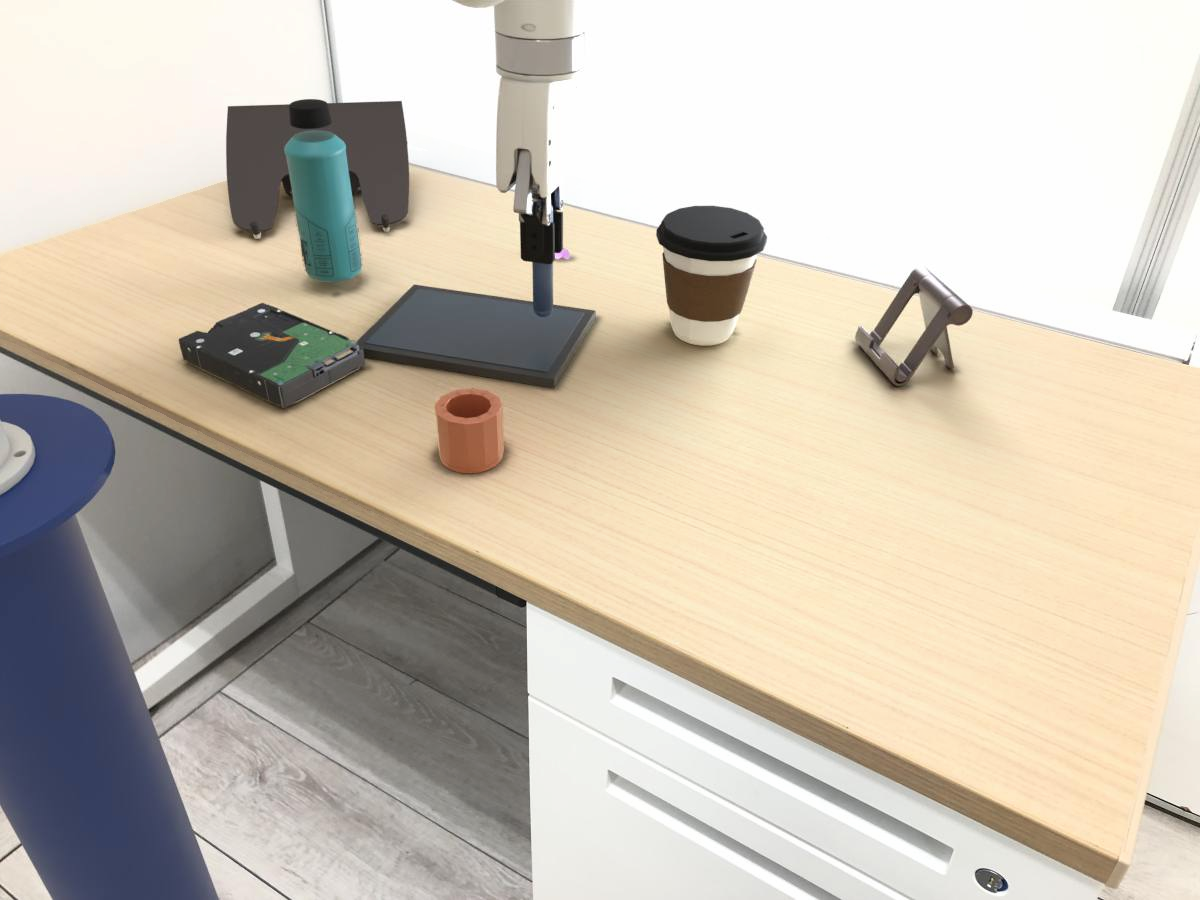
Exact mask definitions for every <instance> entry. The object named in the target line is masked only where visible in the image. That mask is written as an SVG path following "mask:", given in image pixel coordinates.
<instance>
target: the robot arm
mask: <svg viewBox="0 0 1200 900" xmlns="http://www.w3.org/2000/svg"><path fill="white" fill-rule="evenodd" d="M452 1H453V2H455V3H457V4H459V5H461V6H465V7H468V8H474V9H486V8H490V7H493V14H494V15H493V17H494V18H493V19H494V41H495V43H494V45H495V71H496V74H497V75H499V76H501V77H500V80H499V87H498V96H497V97H498V98H497V106H496V107H497V109H496V110H497V111H496V136H495V137H496V138H495V139H496V142H495V143H496V144H495V181H496V182H495V183H496V188H497V190H498V191H499V193H502V194H506V193H508V192H509V191H510V190H511V189H512V188H513V187H514V186H515V188H514V198H513V206H512V207H513V209H512V210H513V213H516V214H518V222H519V231H520V232H519V238H520V239H519V241H520V259H521V260H522V261H523V262H529V263H532V262H535V263H543V264H552V263H553V264H554V262H555V260H556V258H555V253H560V252H561V251H562V250H563V248H564V212H563V208H564V200H565V199H564V195H565V194H564V193H565V191H564V190H565V189H564V188H565V186H564V183H565V179H567V177H568V176H569V175H570V174H571V172H572V171H573V169H574V167H575V165H576V160H577V151H578V104H577V103H578V101H577V82H576V81H577V80H576V79H577V78H578V79H579V78H580V77H581V76H582V75H584V73H585V18H586V17H585V16H586V15H585V13H586V11H585V10H586V7H585V6H586V0H452ZM539 199H541V201H542V207H541V205H540V203H539V202H536V201H537V200H539ZM551 205H552V207H553V222H550V221H551ZM35 456H36V454H35V447H34V445H33V442H32V440H31V437H30V436H29V435H28V434H27V432H26V431H25V430H23V429H21V428H20V427H18V426H16V425H13V424H10V423H7V422H1V420H0V495H2V494H3V493H5V492H7V491H8V490H9V489H11V488H12V487H13V486H15V485H16V484H17V483H18V482H19V481H20V480H21V479H22V478H23V477H24V476H25V475H26V474H27V473H28V472H29V470H30V468H31V467H32V465H33V463H34V460H35Z"/></svg>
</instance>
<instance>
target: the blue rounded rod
mask: <svg viewBox="0 0 1200 900" xmlns="http://www.w3.org/2000/svg"><path fill="white" fill-rule="evenodd" d="M536 202H539V203H540V205H541V207H542V201H541V199H539V200H537V201H536ZM550 222H553V207H552V205H551V221H550ZM531 263H532V268H531V269H532V301H533V310H534V312H535V314H536V315H538V316H540V317H547V316H549V315H550V314H551V313H552V311H553V305H554V262H553V263H552V264H543V263H535V262H531Z"/></svg>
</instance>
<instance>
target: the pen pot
mask: <svg viewBox="0 0 1200 900" xmlns="http://www.w3.org/2000/svg"><path fill="white" fill-rule="evenodd" d="M501 401H502V400H501V399H500V397H499V396H498V395H496V394H494V393H493V392H491V391H489V390H487V389H481V388H475V387H471V388H470V387H469V388H461V389H455V390H452V391H450V392H448V393H445V394H444V395H441V396H440V398H438V400H436V403H434V413H435V425H436V436H437V437H436V438H437V447H438V449H437V450H438V454H439V461H440V462H441V463H442V465H443V466H444V467H445V468H446V469H448V470H451V471H452V472H456V473H460V474H477V473H478V474H479V473H484V472H486V471H490V470H491V469H493V468H495V467H496V466H497V465H499V464H500V462H502V459H503V457H504V452H505V440H504V439H505V436H504V414H503V405H502V402H501Z"/></svg>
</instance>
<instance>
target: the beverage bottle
mask: <svg viewBox="0 0 1200 900" xmlns="http://www.w3.org/2000/svg"><path fill="white" fill-rule="evenodd" d="M327 103H328V102H327V101H325V100H322V99H318V98H305V99H297V100H294V101H292V102H291V103H289V104H290V105H289V113H290V125H291V126H293V127H295V128H301V129H315V128H322V127H326V126H328V125H330V124H331V123H332V120H331V116H330V112H329V107H328V104H327ZM284 151H285V154H286V159H287V164H288V170H289V176H290V182H291V188H292V191H291V189H290V192H291V193H292V196H293V197H292V205H293V207H294V211H295V213H294V215H293V216H295V222H296V224H295V227H297V228H296V230H297V231H298V237H297V239H298V240H299V246H300V250H299V251H300V252H301V254H300V255H301V259H302V262H303V264H302V265H303V266H302V267H304V268H303V269H304V272H306V274H307V276H308V277H309V278H310V279H312V280H315V281H317V282H318V281H319V282H324V283H325V282H326V283H335V282H343V281H347V280H350V279H352V278H355V277H357V276H358V275H359V274H360V273H361V272H362V266H363V254H362V253H363V252H362V250H361V244H362V243H360V239H361V238H360V235H359V228H358V226H357V225H358V224H357V223H358V218H357V216H358V215H357V213H356V209H357V208H356V206H355V205H356V204H355V200H354V194H353V193H352V191H351V184H350V177H349V170H348V163H347V156H346V145H345V143H344V142H343V141H342V140H341V139H340V138H339V137H337V136H336V135H335V134H333V133H331V132H328V131H320V130H313V131H304V132H300V133H297V134H295V135H294V136H293V137H292V138H291V139H290V140H289V141H288V143H287V144H286V146H285V148H284Z"/></svg>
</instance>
